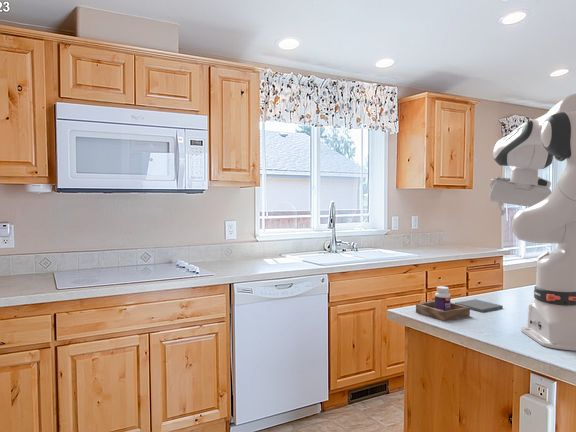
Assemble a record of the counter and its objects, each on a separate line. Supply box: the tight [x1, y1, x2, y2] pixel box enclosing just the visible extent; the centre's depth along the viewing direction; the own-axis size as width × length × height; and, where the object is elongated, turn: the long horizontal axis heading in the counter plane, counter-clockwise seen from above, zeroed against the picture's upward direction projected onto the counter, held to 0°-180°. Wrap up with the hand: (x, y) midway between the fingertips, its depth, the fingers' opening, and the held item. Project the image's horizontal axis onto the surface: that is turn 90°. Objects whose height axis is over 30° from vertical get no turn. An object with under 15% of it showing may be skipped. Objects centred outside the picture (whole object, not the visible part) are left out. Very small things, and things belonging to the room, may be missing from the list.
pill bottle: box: [434, 285, 451, 311], centre depth 157 cm, size 5×5×10 cm
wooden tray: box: [415, 300, 471, 321], centre depth 157 cm, size 13×13×3 cm
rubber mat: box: [454, 298, 503, 313], centre depth 167 cm, size 12×12×1 cm
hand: (515, 217), depth 159 cm, fingers open, 8 cm apart
